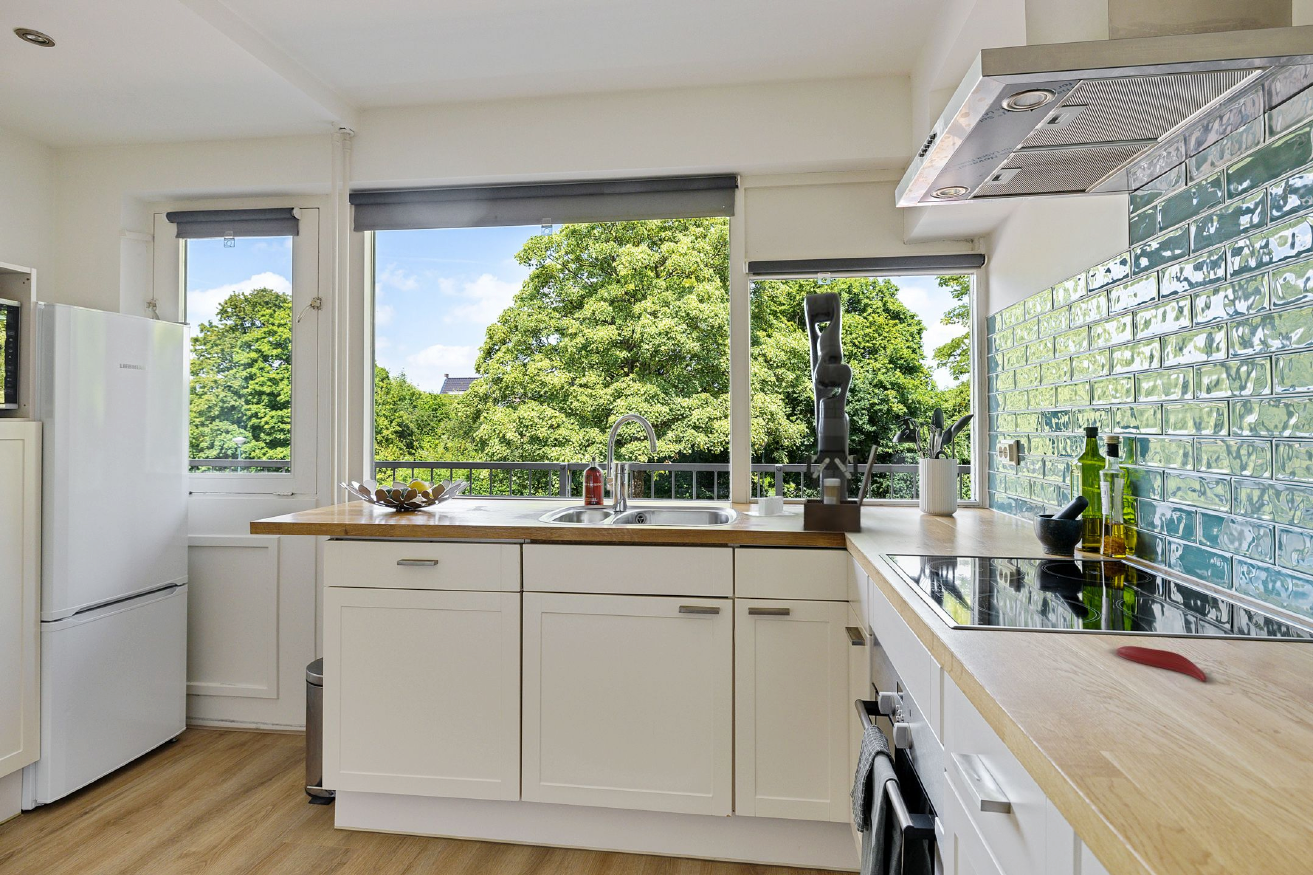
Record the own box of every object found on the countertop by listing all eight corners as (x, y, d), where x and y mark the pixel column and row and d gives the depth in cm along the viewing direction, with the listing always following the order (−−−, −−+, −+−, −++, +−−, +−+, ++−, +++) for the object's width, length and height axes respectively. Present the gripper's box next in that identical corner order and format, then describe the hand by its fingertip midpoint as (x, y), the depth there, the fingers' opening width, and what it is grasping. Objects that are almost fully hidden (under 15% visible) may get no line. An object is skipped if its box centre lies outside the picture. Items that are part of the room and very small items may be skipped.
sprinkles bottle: (843, 526, 209) (843, 479, 208) (832, 527, 206) (832, 479, 206) (831, 524, 212) (831, 478, 212) (820, 526, 210) (820, 478, 210)
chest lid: (875, 446, 200) (878, 447, 200) (872, 444, 213) (875, 445, 212) (859, 502, 201) (862, 503, 201) (857, 498, 214) (860, 498, 214)
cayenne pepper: (1221, 681, 86) (1221, 664, 85) (1185, 682, 85) (1186, 666, 85) (1139, 649, 97) (1139, 635, 97) (1107, 651, 97) (1107, 636, 97)
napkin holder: (781, 510, 251) (781, 494, 251) (797, 514, 240) (797, 497, 240) (741, 512, 247) (741, 495, 246) (755, 516, 236) (755, 498, 236)
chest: (803, 530, 205) (803, 503, 204) (805, 524, 217) (805, 498, 217) (860, 532, 201) (860, 504, 201) (858, 526, 214) (858, 500, 214)
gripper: (857, 434, 211) (857, 491, 211) (807, 434, 214) (806, 490, 214) (858, 434, 203) (858, 493, 204) (806, 434, 207) (805, 492, 207)
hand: (831, 491), depth 209 cm, fingers open, 8 cm apart
